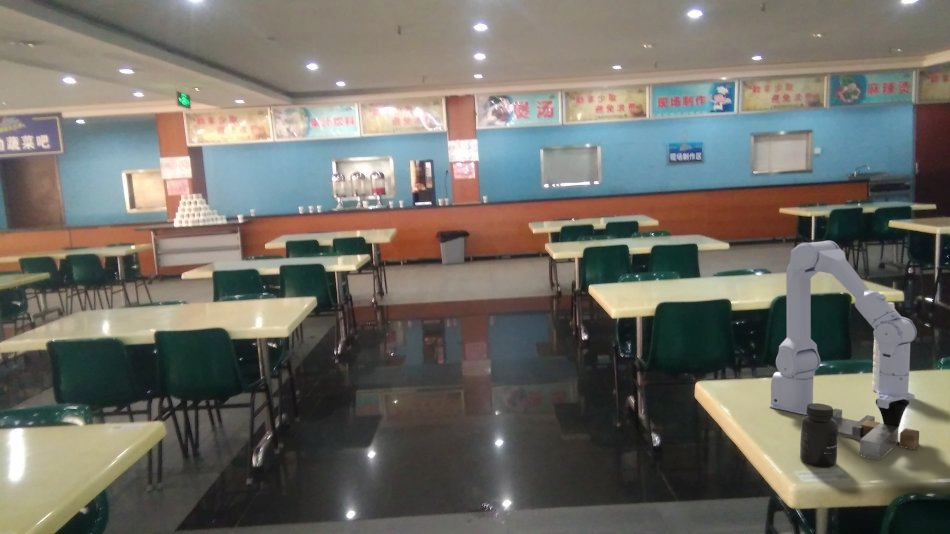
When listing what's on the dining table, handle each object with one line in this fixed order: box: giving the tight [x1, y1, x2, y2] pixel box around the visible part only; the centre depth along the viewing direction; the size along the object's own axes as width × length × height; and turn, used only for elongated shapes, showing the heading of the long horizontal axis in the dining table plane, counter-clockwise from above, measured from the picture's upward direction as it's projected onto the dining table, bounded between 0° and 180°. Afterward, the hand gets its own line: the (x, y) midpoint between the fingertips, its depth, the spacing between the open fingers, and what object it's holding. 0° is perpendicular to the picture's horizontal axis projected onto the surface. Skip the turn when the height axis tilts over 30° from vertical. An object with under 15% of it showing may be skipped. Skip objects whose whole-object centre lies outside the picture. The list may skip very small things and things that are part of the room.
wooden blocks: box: [861, 420, 920, 450], centre depth 142 cm, size 10×4×3 cm, turn 42°
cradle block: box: [832, 408, 876, 441], centre depth 149 cm, size 9×10×3 cm
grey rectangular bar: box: [859, 422, 900, 461], centre depth 138 cm, size 4×13×4 cm, turn 132°
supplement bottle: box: [799, 402, 839, 469], centre depth 132 cm, size 7×7×12 cm
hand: (891, 430), depth 143 cm, fingers closed
